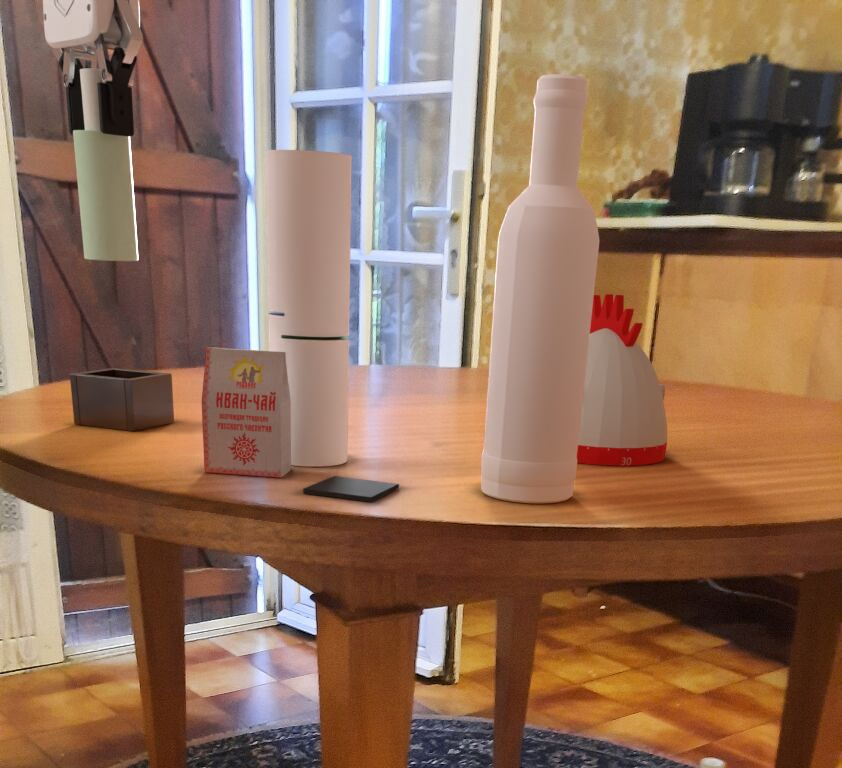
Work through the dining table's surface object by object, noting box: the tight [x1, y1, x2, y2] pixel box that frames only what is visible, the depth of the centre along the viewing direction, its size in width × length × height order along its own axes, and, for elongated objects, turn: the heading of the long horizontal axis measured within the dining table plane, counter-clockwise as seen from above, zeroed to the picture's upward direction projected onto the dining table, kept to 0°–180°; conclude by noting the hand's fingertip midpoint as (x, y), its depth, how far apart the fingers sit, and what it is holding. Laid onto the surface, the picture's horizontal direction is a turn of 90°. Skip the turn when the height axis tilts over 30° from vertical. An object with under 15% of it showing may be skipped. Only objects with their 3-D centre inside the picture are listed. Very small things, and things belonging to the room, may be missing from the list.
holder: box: [69, 367, 175, 432], centre depth 112 cm, size 7×7×5 cm
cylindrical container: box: [265, 149, 353, 468], centre depth 94 cm, size 7×7×25 cm
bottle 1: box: [72, 67, 139, 262], centre depth 103 cm, size 5×5×16 cm
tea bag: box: [201, 346, 292, 479], centre depth 91 cm, size 4×7×10 cm, turn 83°
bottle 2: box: [480, 73, 601, 504], centre depth 84 cm, size 8×8×30 cm
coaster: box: [302, 475, 400, 503], centre depth 88 cm, size 6×6×1 cm
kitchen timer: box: [577, 293, 668, 467], centre depth 107 cm, size 14×14×15 cm
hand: (101, 133), depth 101 cm, fingers closed on bottle 1, 5 cm apart
